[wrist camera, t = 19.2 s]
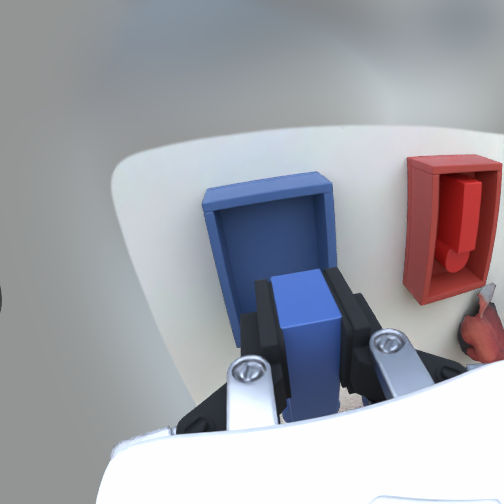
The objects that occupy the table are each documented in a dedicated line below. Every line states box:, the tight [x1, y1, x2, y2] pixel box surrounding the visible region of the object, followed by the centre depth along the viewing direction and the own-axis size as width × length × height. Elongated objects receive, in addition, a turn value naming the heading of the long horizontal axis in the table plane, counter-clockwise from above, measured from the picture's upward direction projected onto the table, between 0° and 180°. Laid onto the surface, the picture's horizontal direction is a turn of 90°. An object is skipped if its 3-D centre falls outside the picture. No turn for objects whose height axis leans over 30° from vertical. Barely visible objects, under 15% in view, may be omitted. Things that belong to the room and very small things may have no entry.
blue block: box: [270, 269, 342, 423], centre depth 12 cm, size 8×3×3 cm, turn 9°
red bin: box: [403, 155, 502, 306], centre depth 21 cm, size 11×8×4 cm
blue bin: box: [202, 171, 337, 348], centre depth 21 cm, size 11×8×4 cm
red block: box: [434, 173, 482, 273], centre depth 20 cm, size 8×3×3 cm, turn 9°
